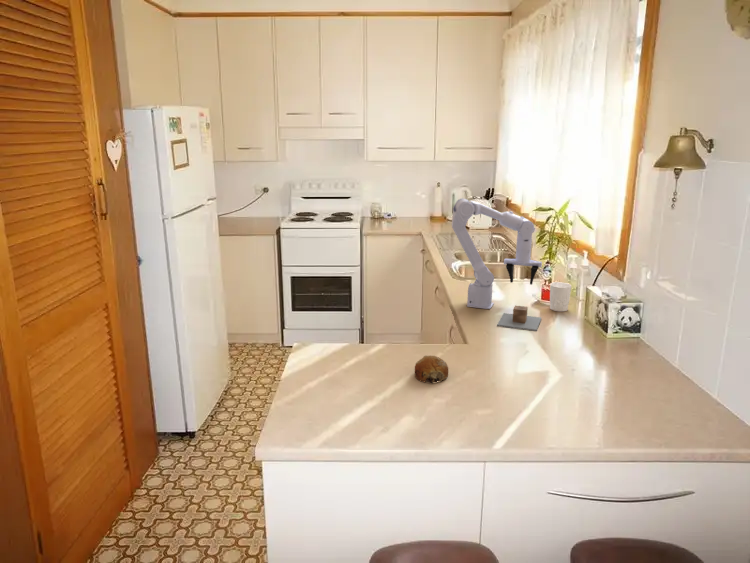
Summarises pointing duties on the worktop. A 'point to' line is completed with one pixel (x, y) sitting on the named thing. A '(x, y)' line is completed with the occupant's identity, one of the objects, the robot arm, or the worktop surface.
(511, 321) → the coaster mat
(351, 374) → the worktop surface
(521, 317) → the walnut block
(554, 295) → the white cup
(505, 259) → the robot arm
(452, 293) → the worktop surface
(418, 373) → the brown rounded dome
